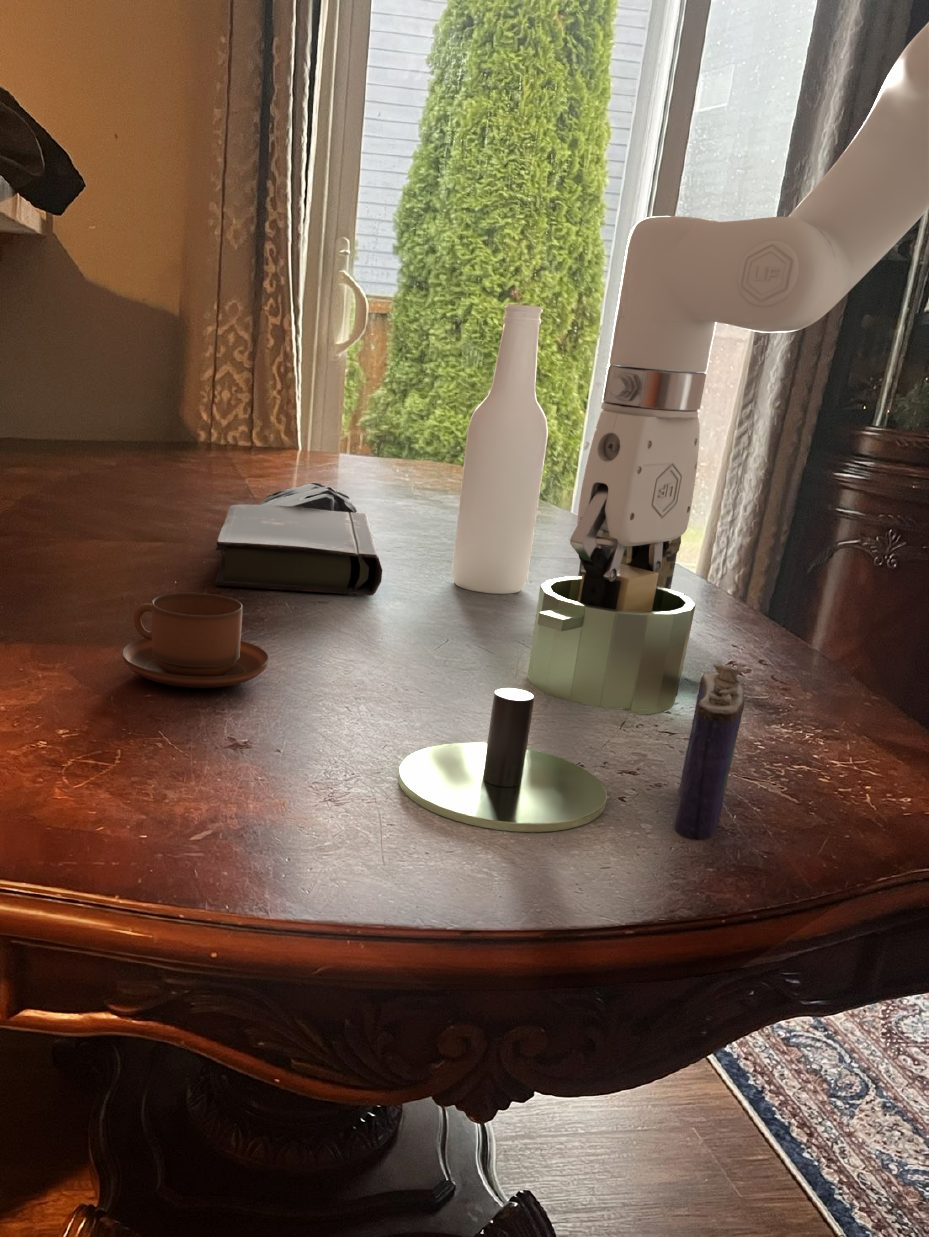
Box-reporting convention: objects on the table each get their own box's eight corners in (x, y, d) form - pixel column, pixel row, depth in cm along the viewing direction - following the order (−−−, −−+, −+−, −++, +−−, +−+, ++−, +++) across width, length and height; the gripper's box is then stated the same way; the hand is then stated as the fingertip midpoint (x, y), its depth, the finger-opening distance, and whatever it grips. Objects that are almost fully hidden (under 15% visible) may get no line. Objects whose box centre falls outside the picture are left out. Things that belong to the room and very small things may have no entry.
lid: (645, 807, 78) (665, 706, 75) (516, 861, 69) (533, 748, 66) (486, 744, 87) (499, 651, 84) (354, 784, 78) (363, 682, 75)
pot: (718, 693, 103) (739, 598, 100) (600, 732, 92) (619, 626, 88) (599, 656, 111) (615, 568, 108) (477, 687, 100) (490, 589, 96)
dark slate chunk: (361, 509, 177) (363, 477, 175) (363, 537, 157) (366, 501, 155) (260, 501, 177) (261, 469, 175) (249, 528, 157) (250, 492, 155)
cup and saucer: (103, 690, 92) (102, 614, 90) (145, 649, 103) (145, 580, 101) (252, 707, 91) (255, 630, 89) (278, 663, 102) (282, 594, 100)
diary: (368, 551, 149) (371, 511, 147) (380, 598, 126) (384, 552, 124) (222, 541, 148) (223, 500, 146) (207, 587, 125) (208, 540, 123)
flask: (675, 791, 81) (707, 642, 77) (719, 799, 80) (754, 649, 76) (668, 844, 73) (703, 681, 69) (717, 853, 72) (755, 689, 68)
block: (649, 625, 99) (659, 572, 97) (619, 632, 96) (628, 578, 94) (605, 613, 102) (613, 561, 100) (574, 619, 99) (582, 566, 97)
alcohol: (507, 576, 141) (544, 306, 129) (538, 595, 133) (580, 309, 121) (439, 576, 138) (469, 301, 126) (466, 594, 131) (501, 303, 119)
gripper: (632, 399, 84) (590, 646, 91) (749, 398, 94) (704, 619, 102) (548, 388, 89) (515, 623, 96) (669, 388, 99) (631, 599, 107)
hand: (612, 618), depth 99 cm, fingers closed on block, 4 cm apart
